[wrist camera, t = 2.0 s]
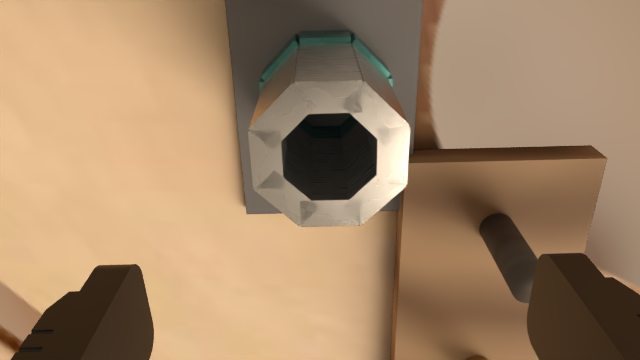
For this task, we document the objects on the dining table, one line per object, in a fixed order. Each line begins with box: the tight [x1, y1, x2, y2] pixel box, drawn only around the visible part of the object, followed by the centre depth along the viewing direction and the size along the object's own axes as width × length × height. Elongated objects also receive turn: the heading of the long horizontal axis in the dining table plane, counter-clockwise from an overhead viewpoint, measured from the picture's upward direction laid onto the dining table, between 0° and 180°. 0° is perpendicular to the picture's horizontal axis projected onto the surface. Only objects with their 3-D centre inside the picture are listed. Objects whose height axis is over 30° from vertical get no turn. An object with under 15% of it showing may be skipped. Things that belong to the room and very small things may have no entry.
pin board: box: [390, 146, 607, 360], centre depth 25 cm, size 16×9×6 cm, turn 1°
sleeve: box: [248, 30, 410, 227], centre depth 19 cm, size 5×5×7 cm
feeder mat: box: [225, 0, 423, 214], centre depth 20 cm, size 14×8×5 cm, turn 1°
